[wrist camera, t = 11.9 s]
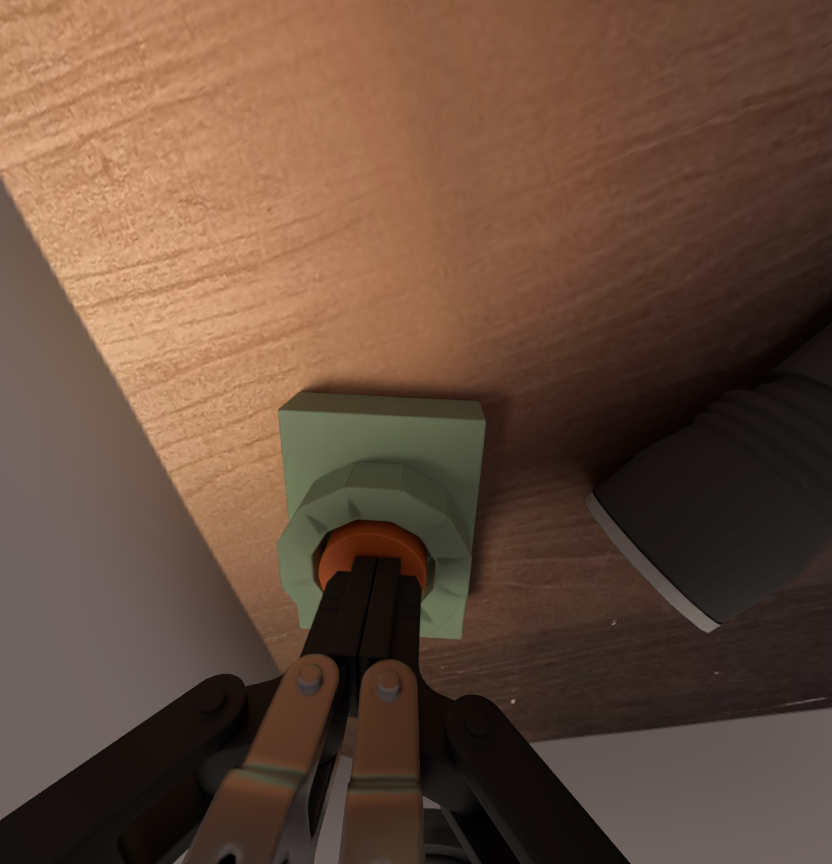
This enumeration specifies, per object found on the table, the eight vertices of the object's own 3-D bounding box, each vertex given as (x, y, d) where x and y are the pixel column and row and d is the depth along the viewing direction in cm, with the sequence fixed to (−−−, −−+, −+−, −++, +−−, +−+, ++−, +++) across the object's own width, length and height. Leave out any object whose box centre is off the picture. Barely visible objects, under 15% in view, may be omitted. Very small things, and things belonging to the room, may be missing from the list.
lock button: (425, 585, 15) (423, 623, 13) (333, 579, 15) (320, 616, 13) (430, 506, 14) (429, 537, 12) (328, 500, 14) (314, 530, 12)
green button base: (458, 600, 19) (464, 681, 15) (313, 590, 19) (283, 668, 15) (479, 400, 15) (495, 442, 11) (298, 391, 15) (253, 429, 11)
